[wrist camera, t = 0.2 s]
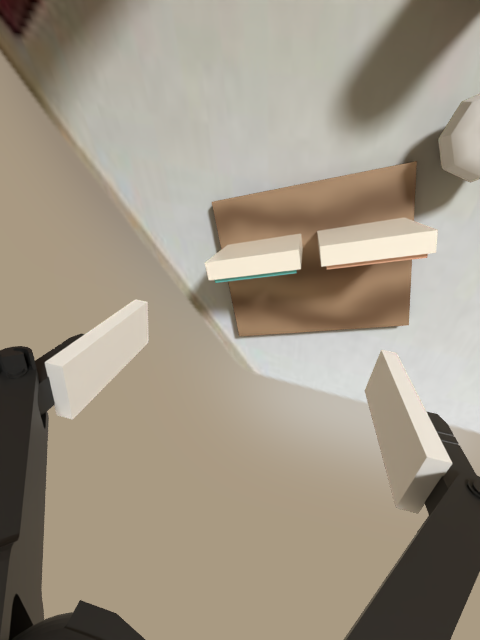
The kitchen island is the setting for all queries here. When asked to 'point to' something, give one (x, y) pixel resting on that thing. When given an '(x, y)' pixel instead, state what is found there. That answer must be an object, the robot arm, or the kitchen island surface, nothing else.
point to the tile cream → (375, 243)
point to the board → (313, 280)
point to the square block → (256, 259)
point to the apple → (462, 141)
